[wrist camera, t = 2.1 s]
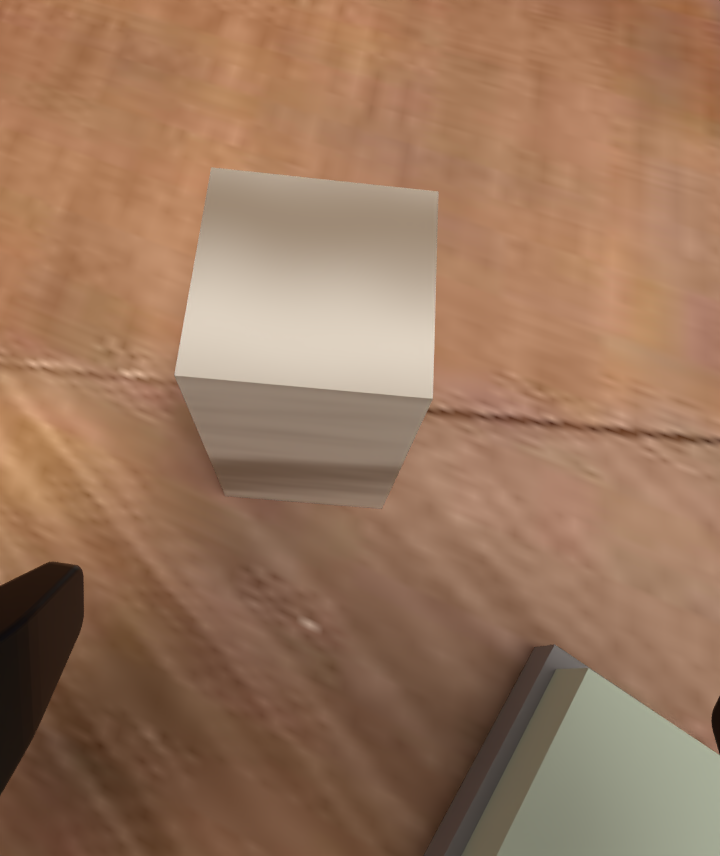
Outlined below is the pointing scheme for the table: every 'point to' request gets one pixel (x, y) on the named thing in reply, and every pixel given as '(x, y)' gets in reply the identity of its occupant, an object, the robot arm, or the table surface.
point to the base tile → (498, 750)
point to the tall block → (310, 334)
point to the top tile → (601, 781)
